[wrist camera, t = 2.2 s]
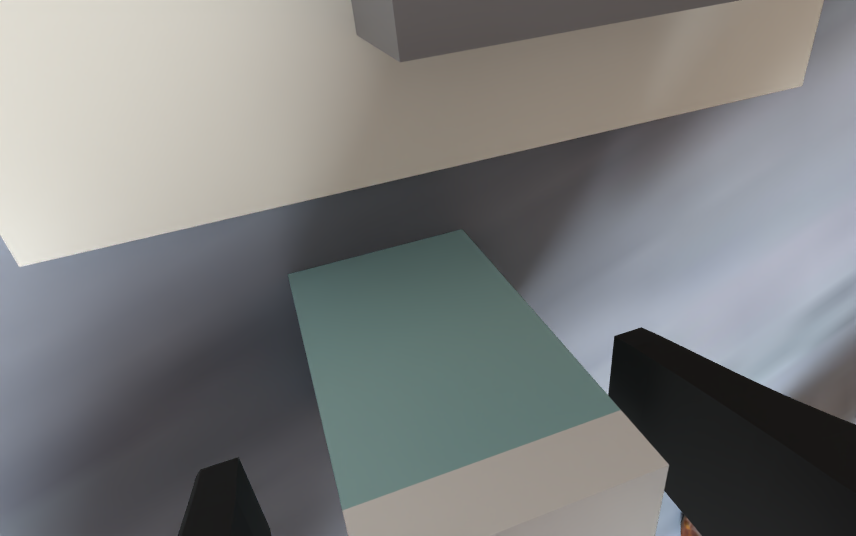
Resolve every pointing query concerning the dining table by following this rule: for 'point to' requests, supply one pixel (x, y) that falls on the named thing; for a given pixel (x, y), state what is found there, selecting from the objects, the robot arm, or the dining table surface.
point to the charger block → (463, 404)
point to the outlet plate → (335, 96)
